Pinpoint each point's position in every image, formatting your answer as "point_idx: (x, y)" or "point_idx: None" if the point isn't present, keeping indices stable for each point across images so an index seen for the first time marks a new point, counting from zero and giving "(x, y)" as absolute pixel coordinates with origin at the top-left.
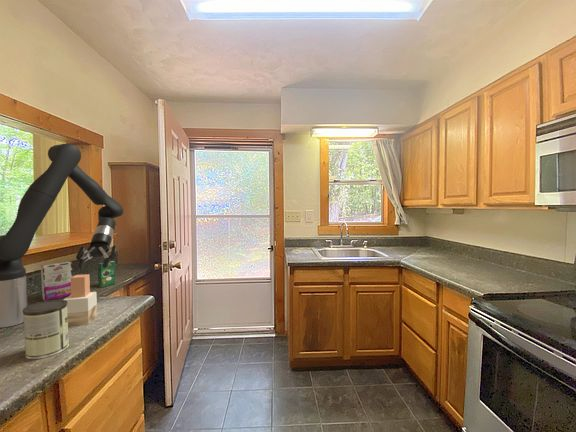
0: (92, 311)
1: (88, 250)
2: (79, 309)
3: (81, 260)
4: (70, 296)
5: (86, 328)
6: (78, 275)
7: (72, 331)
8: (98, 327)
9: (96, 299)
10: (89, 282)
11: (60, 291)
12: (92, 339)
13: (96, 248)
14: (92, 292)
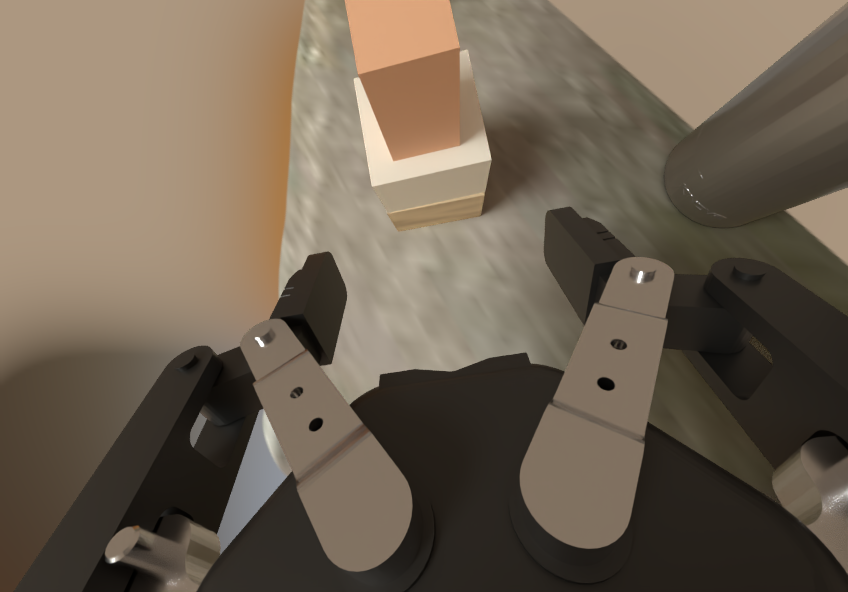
0: None
1: (701, 457)
2: None
3: (612, 250)
4: (467, 106)
5: None
6: (426, 32)
7: None
8: (334, 125)
9: (382, 202)
10: (376, 118)
11: None
12: (306, 44)
13: (512, 540)
14: (385, 172)
